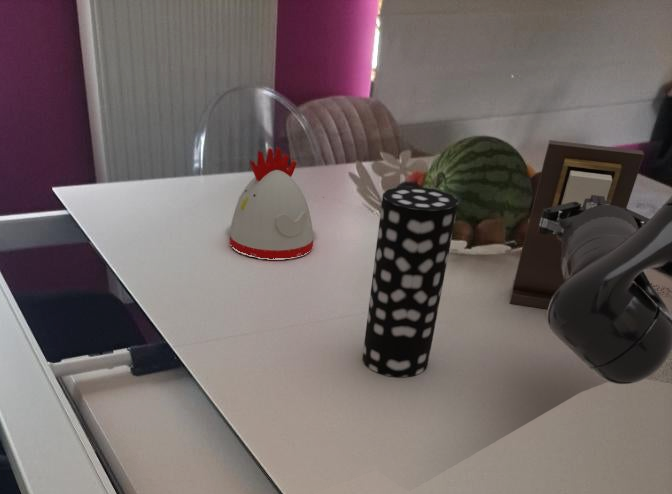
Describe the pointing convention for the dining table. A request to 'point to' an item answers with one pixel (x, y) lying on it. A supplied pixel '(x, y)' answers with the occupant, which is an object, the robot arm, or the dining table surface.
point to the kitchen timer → (272, 212)
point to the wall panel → (561, 157)
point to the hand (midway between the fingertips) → (594, 204)
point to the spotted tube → (408, 279)
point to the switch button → (586, 186)
